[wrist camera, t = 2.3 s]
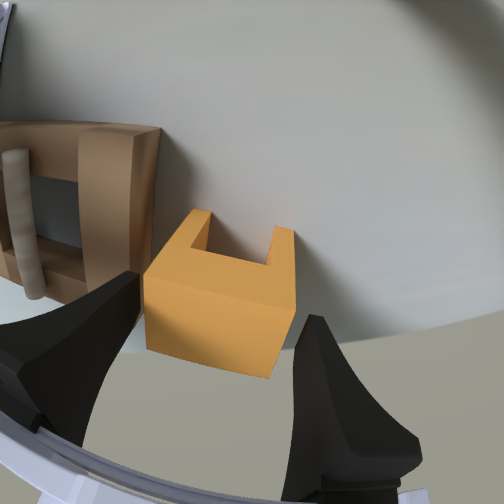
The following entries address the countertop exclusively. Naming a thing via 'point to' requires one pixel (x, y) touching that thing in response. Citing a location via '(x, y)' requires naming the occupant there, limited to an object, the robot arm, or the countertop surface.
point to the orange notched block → (219, 301)
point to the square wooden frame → (90, 204)
